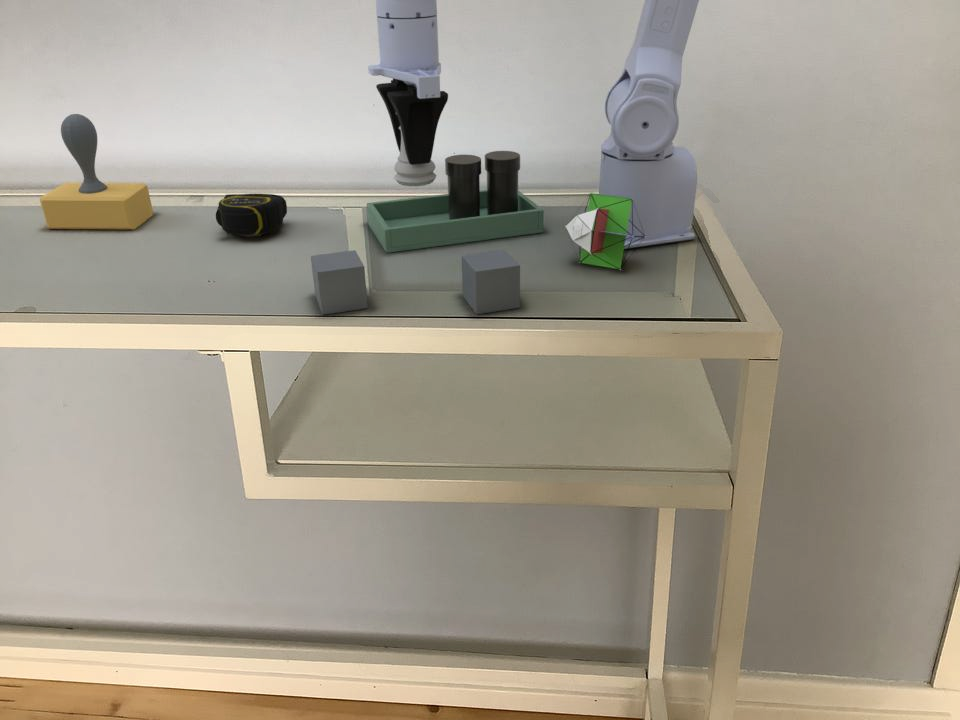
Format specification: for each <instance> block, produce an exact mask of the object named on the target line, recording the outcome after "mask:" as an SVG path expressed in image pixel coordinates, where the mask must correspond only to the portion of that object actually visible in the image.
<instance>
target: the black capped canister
mask: <svg viewBox="0 0 960 720" xmlns="http://www.w3.org/2000/svg"><path fill="white" fill-rule="evenodd" d="M484 170H485V171H486V189H487V215H493V214H501V213H509V212H518V190H519V171H520V170H521V154H520V153H518V152H516V151H512V150H494V151H490V152H487V153H485V154H484Z"/></svg>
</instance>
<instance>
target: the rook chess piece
mask: <svg viewBox="0 0 960 720" xmlns="http://www.w3.org/2000/svg"><path fill="white" fill-rule="evenodd" d="M396 115H397V114H396ZM399 129H400V130H401V126H400V127H399ZM393 170H394V171H395V175H394V176H393V179H394V180H395V182H397V183H398V185H400V186H403V187H423V186H428V185H430V184H433V183H434V181H435V180H436V178H437V174H436V173H435V172H434V171H435V170H436V163H435V162H434V161H433V160H432V159H431V161H430V163H424V164H414V165H411V164H410V163H409V161H408V158H407V155H406V151H405V146H404V140H403V135H402V130H401V149H400V152H399V155H398V157H397V161H396V162H395V164H394V167H393Z"/></svg>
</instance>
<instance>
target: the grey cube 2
mask: <svg viewBox="0 0 960 720" xmlns="http://www.w3.org/2000/svg"><path fill="white" fill-rule="evenodd" d="M461 284H462V285H461V286H462V289H461V290H462V298H463V299H464V300H465V302H466V303H467V304H468V306H469V307H470V308H471V309H472V311H473V312H474V313H475V315H483V314H489V313H495V312H501V311H507V310H513V309H514V310H515V309H520V308H521V264H519V263H518V262H517V260H515V258H514V257H512V255H511V254H509V253H508V251H506V250H505V249H497V250H490V251H489V250H488V251H483V252H475V253H474V252H473V253H468V254H462V255H461Z"/></svg>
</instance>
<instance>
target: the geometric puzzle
mask: <svg viewBox="0 0 960 720" xmlns="http://www.w3.org/2000/svg"><path fill="white" fill-rule="evenodd" d="M586 199H587V202H586V206H585V209H584V212H582V213H579V214H576V215H575V214H574V215H573V216H572V218H570V220H569V221H568V222H567V224H565V225H564V228H565V229H566V232H567V234H568V236H569V238H570V241H571V242H572V243H571V244H572V246H574V244H576V245H577V246H579V248H581V250H580V257H579V258H577V259H578V260H577V261H579V262H578V264H585V265H591V266H596V267H602V268H608V269H614V270H619V271H622V268H623V266H624V265H625V264H626V263H627V261H628V260H629V259H630V257H631V255H633V253H634V252H635V251H636V249H637V248H639V247H638V246H637V247H635V249H634V250H633V252H632V253H631V254H630V255H629V257H628V259H626V256H627V254H628V252H629V249H630V248H629V247H628V248H627V249H626V252H625V254H624V250H625V249H624V247H625V246H624V244H625V240H627V239H629V238H627V239H625V238H626V236H632V237H630V238H633V237H642V238H643V239H644V237H646V236H645V235H644V234H643V233H644V232H643V233H642V232H641V231H640V230H639V229H638V228H637V227H636V226H635V225H634V224H633V206H632V222H631V221H630V220H629V215H630V209H631V203H632V201H633V198H631V199H630V198H623V197H615V196H608V195H600V194H599V193H598V194H597V193H592V192H589V195H588V196H587V197H586ZM584 202H585V201H583V202H582V204H584ZM633 204H634V203H633ZM581 206H582V205H580V207H579V208H581ZM587 207H588V208H587ZM635 209H636V208H635ZM578 210H579V209H577V211H576V212H578ZM636 212H637V211H636ZM637 215H638V214H637ZM638 218H639V217H638ZM628 221H630V222H631V223H632V234H630V233H629V232H627V227H628ZM639 221H640V220H639ZM640 224H641V223H640ZM633 225H634V226H635V227H636V228H637V229H638V230H639V231H640V232H641V233H642V234H643V235H644V236H638V235H633ZM641 227H642V226H641ZM642 230H643V229H642ZM626 233H629V234H626ZM642 238H640V239H642ZM640 239H638V240H640ZM638 240H636V241H638ZM631 241H632V239H631ZM636 241H634V242H636ZM634 242H632V243H634ZM573 243H574V244H573ZM632 243H631V242H630V244H632ZM640 243H641V242H640ZM630 244H628V245H629V246H630ZM626 246H627V245H626ZM573 249H574V251H576V250H575V248H573ZM575 254H576V256H577V253H575ZM623 256H624V257H623ZM625 260H626V261H625Z"/></svg>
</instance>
